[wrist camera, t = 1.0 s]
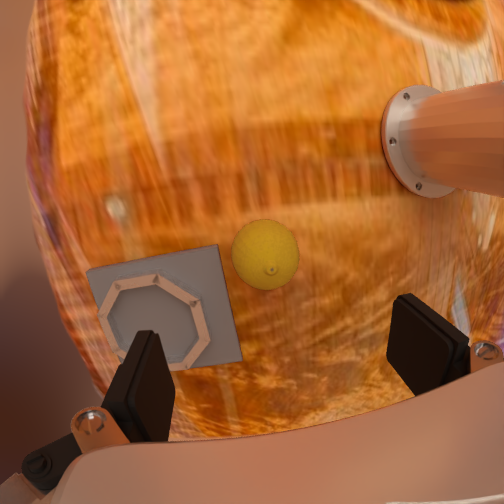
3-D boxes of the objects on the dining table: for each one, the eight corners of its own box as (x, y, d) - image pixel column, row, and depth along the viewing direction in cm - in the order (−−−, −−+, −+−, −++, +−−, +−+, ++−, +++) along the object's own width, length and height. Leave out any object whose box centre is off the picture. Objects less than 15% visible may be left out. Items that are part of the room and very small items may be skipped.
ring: (193, 261, 27) (191, 267, 26) (218, 357, 30) (218, 365, 29) (92, 280, 27) (86, 285, 26) (126, 367, 30) (123, 374, 29)
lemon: (283, 271, 29) (302, 308, 22) (227, 266, 29) (227, 302, 21) (293, 216, 28) (316, 235, 20) (234, 209, 27) (236, 226, 20)
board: (217, 244, 28) (217, 246, 27) (242, 355, 32) (242, 360, 31) (89, 268, 28) (85, 272, 27) (128, 368, 31) (126, 373, 30)
